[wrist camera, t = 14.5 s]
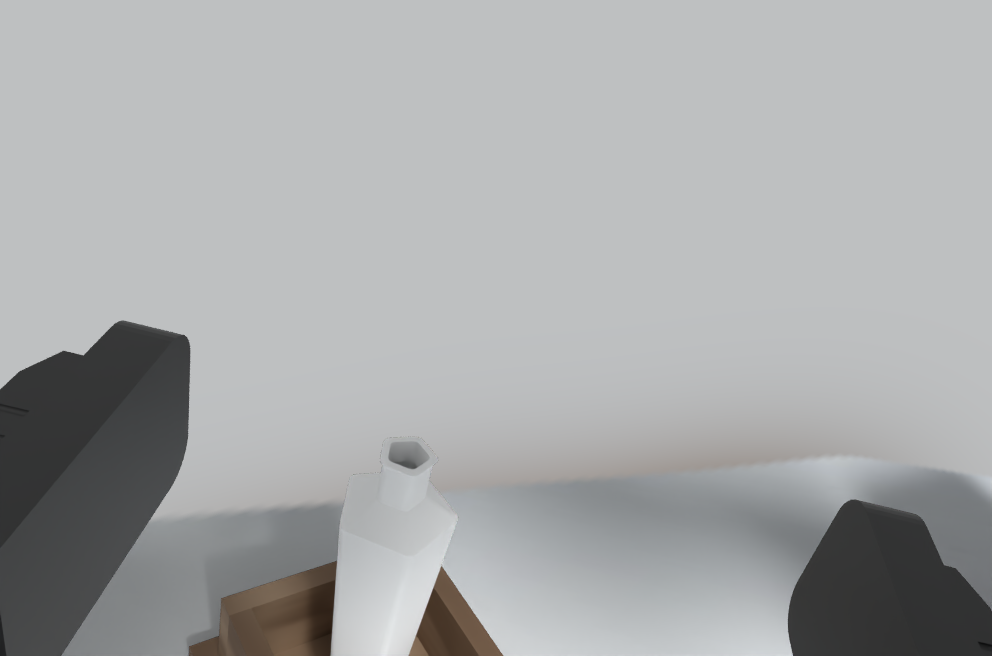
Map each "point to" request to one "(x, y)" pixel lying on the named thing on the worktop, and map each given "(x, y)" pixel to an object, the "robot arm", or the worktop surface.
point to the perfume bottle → (389, 552)
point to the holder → (309, 619)
